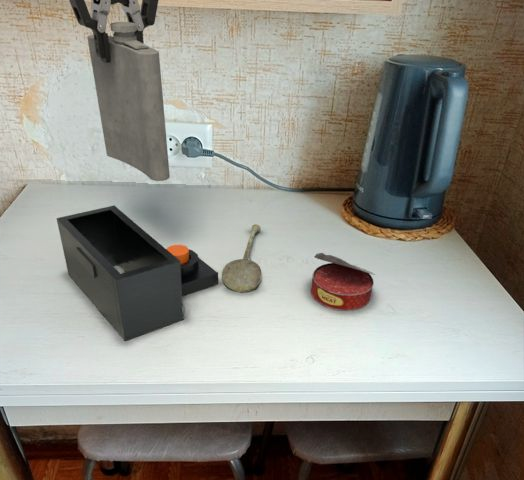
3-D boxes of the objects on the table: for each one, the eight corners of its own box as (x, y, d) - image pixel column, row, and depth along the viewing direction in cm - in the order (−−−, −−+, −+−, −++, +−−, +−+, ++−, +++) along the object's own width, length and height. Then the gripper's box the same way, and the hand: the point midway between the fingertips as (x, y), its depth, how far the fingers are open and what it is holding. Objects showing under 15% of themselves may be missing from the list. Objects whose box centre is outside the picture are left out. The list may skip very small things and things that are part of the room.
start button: (173, 267, 80) (173, 257, 79) (162, 257, 83) (161, 248, 81) (193, 261, 82) (193, 251, 81) (181, 252, 84) (181, 242, 83)
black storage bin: (123, 341, 71) (114, 280, 65) (66, 275, 83) (54, 218, 77) (183, 319, 76) (180, 260, 70) (121, 259, 88) (114, 205, 82)
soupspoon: (217, 292, 83) (257, 299, 83) (218, 275, 81) (259, 282, 81) (240, 228, 100) (273, 234, 99) (241, 213, 97) (275, 218, 97)
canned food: (306, 311, 87) (295, 253, 85) (358, 297, 90) (349, 240, 87) (334, 320, 77) (322, 255, 74) (392, 304, 79) (383, 240, 77)
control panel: (170, 300, 80) (168, 278, 77) (140, 272, 85) (138, 251, 83) (218, 284, 84) (218, 263, 81) (186, 258, 90) (186, 238, 87)
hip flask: (103, 153, 87) (79, 16, 74) (123, 148, 90) (104, 13, 77) (157, 182, 79) (141, 33, 66) (178, 176, 81) (167, 30, 68)
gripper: (143, -89, 70) (152, 53, 81) (38, -99, 63) (64, 58, 74) (170, -88, 65) (176, 62, 76) (60, -98, 58) (84, 69, 69)
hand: (121, 60), depth 75 cm, fingers closed on hip flask, 4 cm apart
